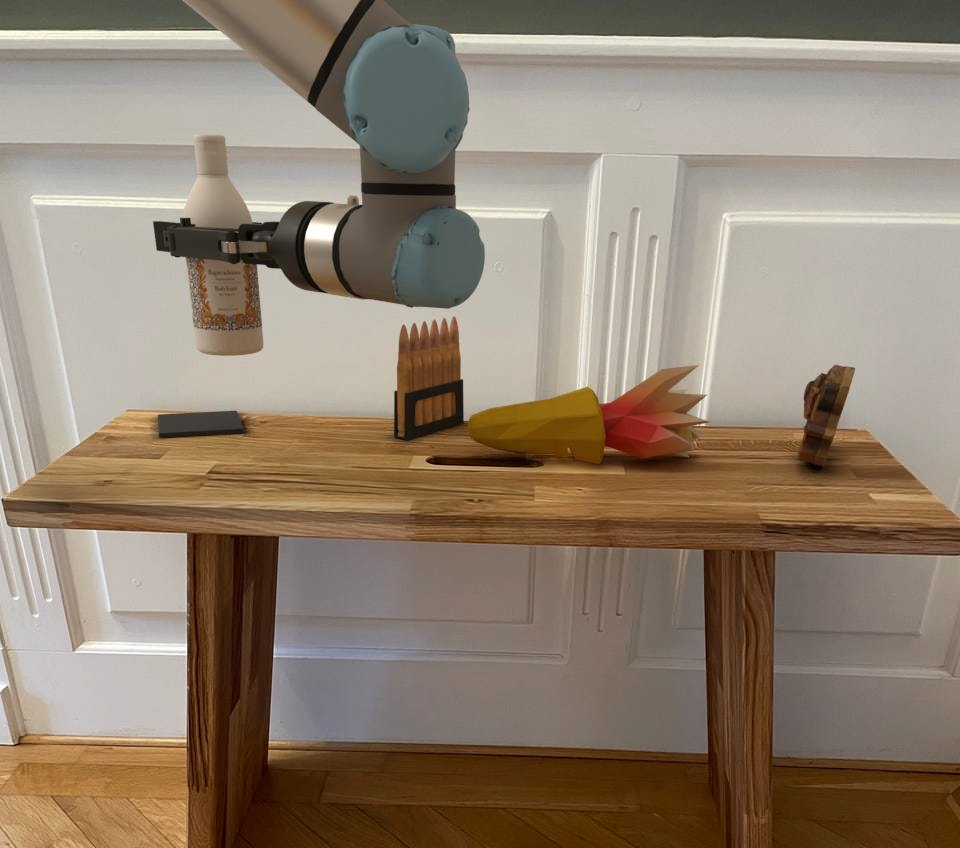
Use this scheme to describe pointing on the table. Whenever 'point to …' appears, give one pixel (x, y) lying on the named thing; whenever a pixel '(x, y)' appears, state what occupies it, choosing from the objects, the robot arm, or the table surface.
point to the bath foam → (217, 284)
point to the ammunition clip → (428, 381)
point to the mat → (199, 424)
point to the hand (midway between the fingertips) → (192, 234)
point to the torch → (597, 422)
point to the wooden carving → (823, 412)
